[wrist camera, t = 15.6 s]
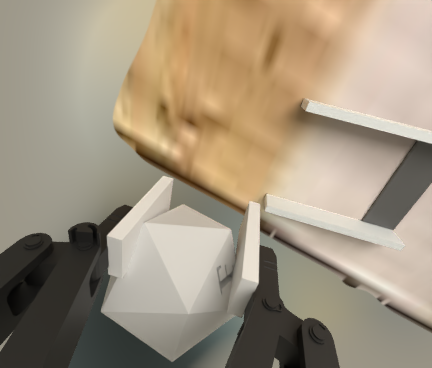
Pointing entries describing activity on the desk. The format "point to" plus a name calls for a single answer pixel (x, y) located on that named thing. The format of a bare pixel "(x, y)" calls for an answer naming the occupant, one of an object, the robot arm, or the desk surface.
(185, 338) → the die
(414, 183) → the grey u-shaped frame
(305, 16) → the desk surface
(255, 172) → the desk surface
